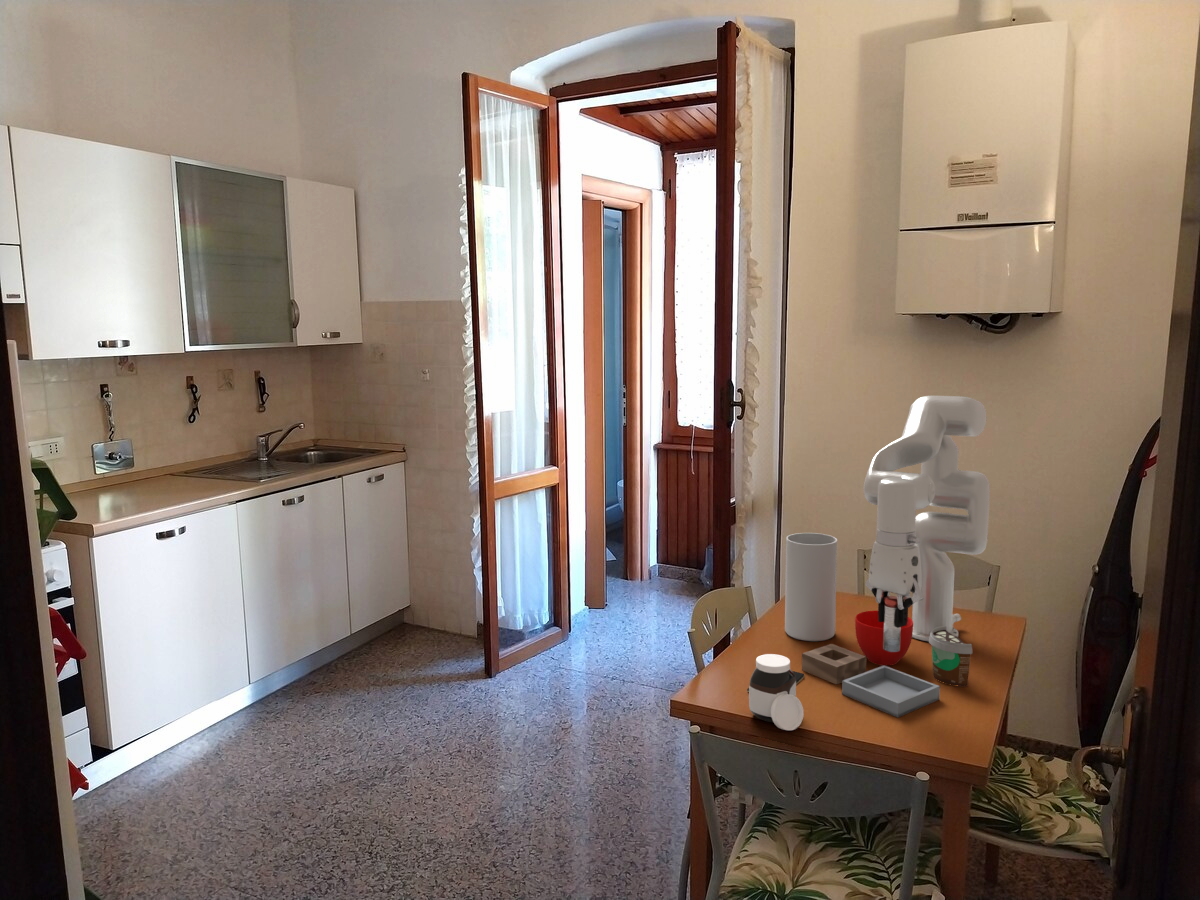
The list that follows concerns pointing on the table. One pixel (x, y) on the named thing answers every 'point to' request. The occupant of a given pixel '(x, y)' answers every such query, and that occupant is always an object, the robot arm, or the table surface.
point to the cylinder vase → (810, 586)
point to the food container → (950, 657)
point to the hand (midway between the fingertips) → (892, 622)
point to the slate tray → (891, 690)
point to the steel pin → (891, 625)
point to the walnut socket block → (833, 663)
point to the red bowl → (879, 638)
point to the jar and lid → (775, 692)
